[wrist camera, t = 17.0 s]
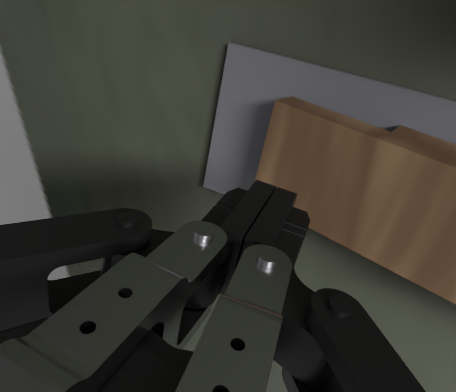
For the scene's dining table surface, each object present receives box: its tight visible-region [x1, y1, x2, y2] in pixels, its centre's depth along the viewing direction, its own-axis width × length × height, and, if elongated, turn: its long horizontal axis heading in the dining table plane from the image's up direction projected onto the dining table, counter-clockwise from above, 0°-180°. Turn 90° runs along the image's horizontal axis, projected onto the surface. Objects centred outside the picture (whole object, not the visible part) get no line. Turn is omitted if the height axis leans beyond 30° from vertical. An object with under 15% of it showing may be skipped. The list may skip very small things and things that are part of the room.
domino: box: [255, 96, 456, 304], centre depth 16 cm, size 2×5×10 cm
